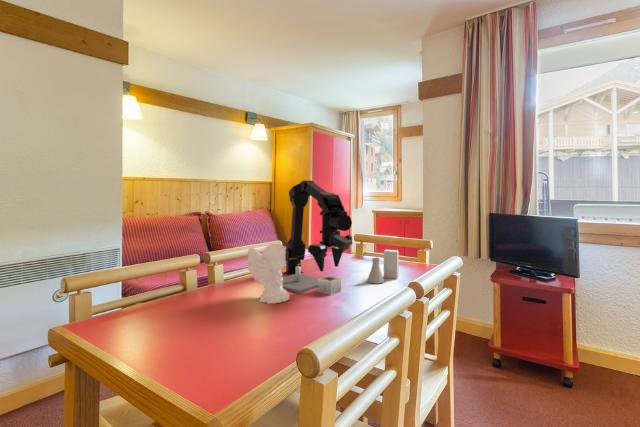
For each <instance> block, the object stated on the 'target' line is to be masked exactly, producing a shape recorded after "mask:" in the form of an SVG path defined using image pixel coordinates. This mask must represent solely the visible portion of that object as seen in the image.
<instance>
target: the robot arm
mask: <svg viewBox="0 0 640 427" xmlns="http://www.w3.org/2000/svg"><path fill="white" fill-rule="evenodd" d="M310 196H311V197H312V198H314V199H315V200H316V201H317V206H318V207H319V208H320V209H321V211H320V212H319V216H321V230H319V234H321V240H320V241H319V243H313V244H309V245H308V247H307V252H308V253H309V254H310V255H311V256H312V258H314V260H315V263H316V264H317V267H318V268H319V271H320V272H324V268H325V257H327V256H328V253H327V252H328V250H330V249H331V253H332V259H333V265H334V267H337V268H338V267H339V264H340V260H341V258H342V256H343V253H345V252H346V251H347V250H349V248H350V246H351V245H353V236H352V235H350V234H346V235H342V234H341V231H342V232H347V231H349V230H350V229H351V227H352V224H353V220H352V218H351V217H350V216H349V215H348V211H346V210H345V207H344V205H343V202H342V199H341V198H340V195H339V194H336V193H334V192H329V191H326V190H324V189H323V188H321V187H320V185H318V184H317V183H315V181H313V180H302V181H301V182H300V183H298V184H296V185H293V186H292V187H291V188H290V189H289V191H288V197H289V202H290V204H291V206H292V215H291V229H290V230H291V231H290V232H291V233H290V239H289V240H288V241H287V243H286V247H285V249H286V250H285V251H286V253H285V257H286V258H285V265H286V266H285V268H286V270H285V271H283V274H286V275H289V276H290V275H293V274H296V269H295V267H296V266H300V267H301V268H302V263H301V261H305V254H306V244H305V243H304V241H303V238H302V237H303V228H304V226H303V225H304V212H305V207H306V205H307V204H308V203H309V197H310ZM303 273H304V271H302V270H301V274H303Z"/></svg>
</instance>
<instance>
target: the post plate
mask: <svg viewBox="0 0 640 427" xmlns="http://www.w3.org/2000/svg"><path fill="white" fill-rule="evenodd" d="M295 269H296V274H293V275H290V274H289V275H287V276H284V277H283V276H282V277H283V281H282V282H283V285H282V287H283V289H284V290H286V291H287V292H288V291H289V292H293V293H297V294H303V293H305V292H308V291H311V290H313V289H316V288H317V279H319V278H320V277H316V276H315V277H314V276H309V275H305V274H303V273H301V271H302V266H301V267H300V266H296V267H295Z"/></svg>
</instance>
